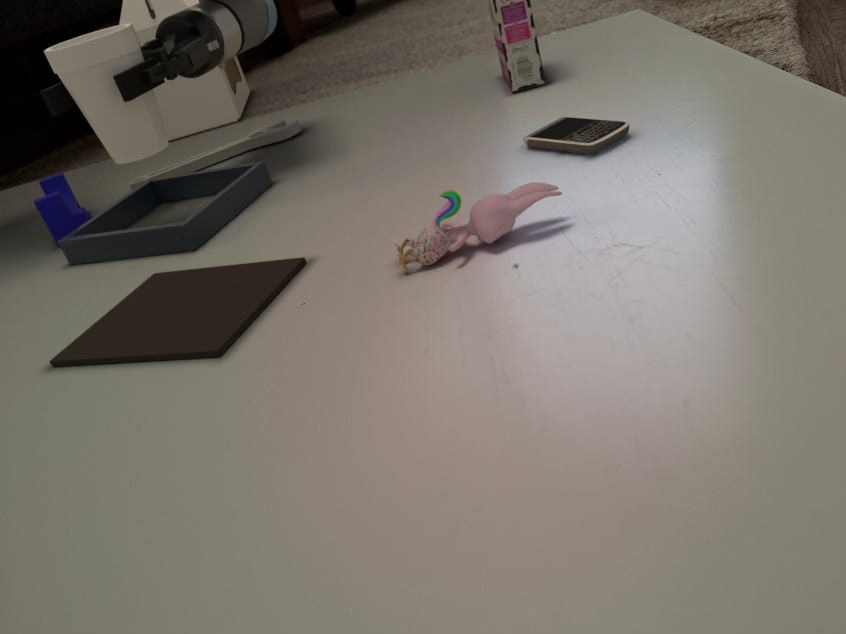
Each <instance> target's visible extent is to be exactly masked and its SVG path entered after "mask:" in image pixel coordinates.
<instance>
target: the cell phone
mask: <svg viewBox="0 0 846 634" xmlns="http://www.w3.org/2000/svg"><path fill="white" fill-rule="evenodd" d="M629 131H630V124H629V122H626V121H620V120H609V119H595V118H584V117H583V118H582V117H569V116H562V117H560V118H557V119H556V120H554V121H552V122H550V123H548V124H547V125H545V126H542V127H541V128H539V129H537V130H535V131H533V132H532V133H530V134H527V135H526V136H524V137H522V140H523V143H524V144H525V145H526V146H527V147H528V148H535V149H542V150H552V151H560V152H568V153H574V154H575V153H576V154H582V155H583V154H585V155H595V154H597V153H599V152H601V151H602V150H604V149H606V148H608V147H610V146H611V145H613V144H615V143H616V142H618V141H620V140H622V139H623V138H625V137H626V136H627V135H628V133H629Z"/></svg>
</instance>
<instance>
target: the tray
mask: <svg viewBox="0 0 846 634" xmlns="http://www.w3.org/2000/svg"><path fill="white" fill-rule="evenodd" d="M273 184H274V182H273V179H272V177H271V174H270V172H269V169H268V166H267V164H266V161H264V160H262V161H256V162H255V161H254V162H250V163H248V162H247V163H243V164H235V165H230V166H223V167H218V168H211V169H205V170H197V171H194V172H192V173H185V174H179V175H173V176H166V177H160V178H155V179H149V180H147V181H146V182H144V183H143V184H141V185H140V186H138V187H137V188H135V189H134V190H132V189H131V191H130V192H128V193H127V194H125V195H123V196H122V197H121V198H119V199H118V200H116V201H115V202H114V203H112V204H111V205H109V206H107V207H106V208H104V209H103V210H102V211H100V212H99V213H97V214H96V215H94V216H92V217H93V218H91V219H90V220H88V221H87V222H86V223H84V224H83V225H81V226H80V227H78V228H77V229H75V230H74V231H72V232H71V233H69V234H68V235H66V236H65V237H64V238H62V239H61V240H59V241H58V244H59V246H60V247H59V248H60V249H61V251H62V253H63V255H64V257H65V258H66V260H67V262H68V264H69V265H70V266H71V265H81V264H88V263H99V262H106V261H115V260H123V259H131V258H132V259H133V258H140V257H149V256H158V255H165V254H173V253H183V252H190V251H191V252H192V251H197V250H198V249H199V248H200V247H202V245H204V243H206V242H207V241H208V240H210V239H211V238H212V237H213V236H214V235H216V233H218V232H219V231H220V230H221V229H222V228H223V227H224V226H226V225H227V224H228V223H229V222H230V221H231V220H232V219H234V218H235V217H236V216H237V215H238V214H240V213H241V212H242V211H244V209H245V208H247V207H248V206H249V205H251V203H252V202H254V201H255V200H256V199H257V198H259V196H260V195H262V194H264V193H265V191H266V190H268V189H269V188H270V187H271V186H272V185H273ZM207 196H213V197H212V198H211V199H210V200H208V201H207V202H206V203H204V204H203V205H202V206H200V207H199V208H198V209H197V210H196V211H194V212H193V213H192V214H190V215H189V216H188V217H187V218H186V219H184V220H183V221H182V222H181V221H180V222H174V223H173V222H172V223H165V224H158V225H149V226H143V227H136V228H135V227H134V228H128V227H129V226H130V225H132V224H133V223H134V222H136V221H137V220H139V219H140V218H142V217H143V216H144V215H146V214H147V213H148V212H150V211H151V210H152V209H154V208H155V207H156V206H158V205H159V204H160V203H165V202H166V203H167V202H173V201H180V200H188V199H194V198H200V197H207ZM127 228H128V229H127Z"/></svg>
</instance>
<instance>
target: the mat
mask: <svg viewBox="0 0 846 634" xmlns="http://www.w3.org/2000/svg"><path fill="white" fill-rule="evenodd" d="M306 264H307V260H306V257H305V256H301V257H295V258H293V257H292V258H284V259H275V260H266V261H256V262H247V263H237V264H230V265H227V264H226V265H218V266H211V267H209V266H208V267H200V268H193V269H192V268H191V269H182V270H181V269H180V270H172V271H164V272H154V273H153V274H151V275H150V276H149V277H148V278H146V279H145V280H144V281H143V282H142V283H140V284H139V285H138V286H137V287H136V288H134V289H133V290H132V291H131V292H130V293H129V294H128V295H126V296H125V297H124V298H122V300H121V301H119V302H118V303H117V304H115V305H114V307H112V308H111V309H110V310H109V311H108V312H106V313H105V314H103V316H102V317H100V318H99V319H98V320H97V321H95V322H94V323H93V324H92V325H90V327H88V328H87V329H86V330H85V331H84V332H83V333H81V334H80V335H79V336H78V337H76V338H75V339H73V341H72V342H71V343H70V344H68V345H67V346H66V347H64V348H63V349H62V350H61V351H60V352H58V353H57V354H56V355H55V356H54V357H52V358H51V359H50V360H49V364H50V365H51V366H52V368H53V367H55V368H56V367H69V366H70V367H71V366H72V367H73V366H87V365H88V366H89V365H101V364H102V365H103V364H104V365H105V364H121V363H122V364H123V363H136V362H153V361H154V362H155V361H169V360H172V361H173V360H186V359H202V358H204V359H205V358H220V357H222V355H224V354H225V352H226V351H227V350H228V349H229V348H230V347H231V346H232V344H233V343H234V342H235V341H236V340H238V338H239V337H240V336H241V335H242V334H243V333H244V332H245V330H246V329H247V328H248V327H249V326H250V325H251V324H252V323H253V322H254V321H255V320H256V318H258V316H259V315H260V314H261V313H262V312H263V311H264V310H265V308H267V307H268V305H269V304H270V303H271V302H272V301H273V300H274V299H275V298H276V296H278V295H279V293H281V291H282V290H283V289H284V288H285V287H286V286H287V285H288V284H289V283H290V282H291V280H292V279H293V278H294V277H295V276H296V275H297V274H298V273H299V272H300V270H302V269H303V267H304V266H306Z"/></svg>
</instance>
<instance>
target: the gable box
mask: <svg viewBox="0 0 846 634" xmlns="http://www.w3.org/2000/svg"><path fill="white" fill-rule="evenodd" d="M198 3H199V1H198V0H122V5H121V10H120V11H121V12H120V16H119V23H118V25H122V24H129V23H132V25H133V27H134V29H135V31H136V34H137V36H138V38H139V41H140V43H141V46H143V45H144V44H145V43H146V42H148V41H150V40H153V39H155V36H156V30H157V28H158V26H159V24H160V23H161V21H162V20H164V19H165V18H167V17H169V16H171V15H173V14H176V13H178V12H180V11H183V10H184V9H186V8H188V7H191V6H193V5H195V4H198ZM225 65H226V66H225V68H223V69H220V68H219V67H218V66H217V67H215V68H214V69H213V70H211V71H209V72H207V73H205V74H204V75H202V76H200V77H197V78H185V77H182V76H179V75H178V77H177V78H175V79H174V80H167V79H166V78H164V80H165V83H163V84H161V85H159V86H157V87H156V88H154V89H153V91H154V95H155V98H156V101H157V104H158V108H159V111H160V114H161V118H162V121H163V124H164V128H165V131H166V134H167V140H168V142H171V141H174V140H178V139H181V138H185V137H188V136H193V135H195V134H199V133H203V132H206V131H209V130H212V129H216V128H219V127H223V126H226V125H229V124H233V123H236V122H239V121H241V120H240V119H241V117H242V115H243V112H244V110H245V107H246V104H247V101H248V99H249V96H250V94H251V90H250V87H249V85H248V82H247V79H246V76H245V74H244V72H243V69H242V67H241V64H240V61H239V58H238V55H237V56H235V57H233V58H231V59H230V60H227V61H226V62H225Z"/></svg>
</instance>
